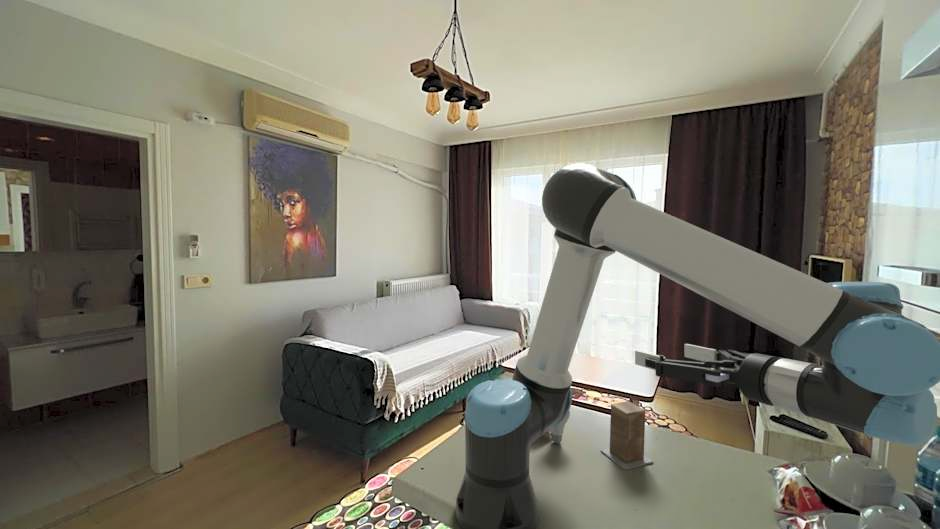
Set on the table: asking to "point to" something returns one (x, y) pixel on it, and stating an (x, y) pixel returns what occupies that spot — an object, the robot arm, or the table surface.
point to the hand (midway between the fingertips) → (661, 353)
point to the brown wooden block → (627, 432)
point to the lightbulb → (559, 429)
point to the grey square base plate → (628, 465)
